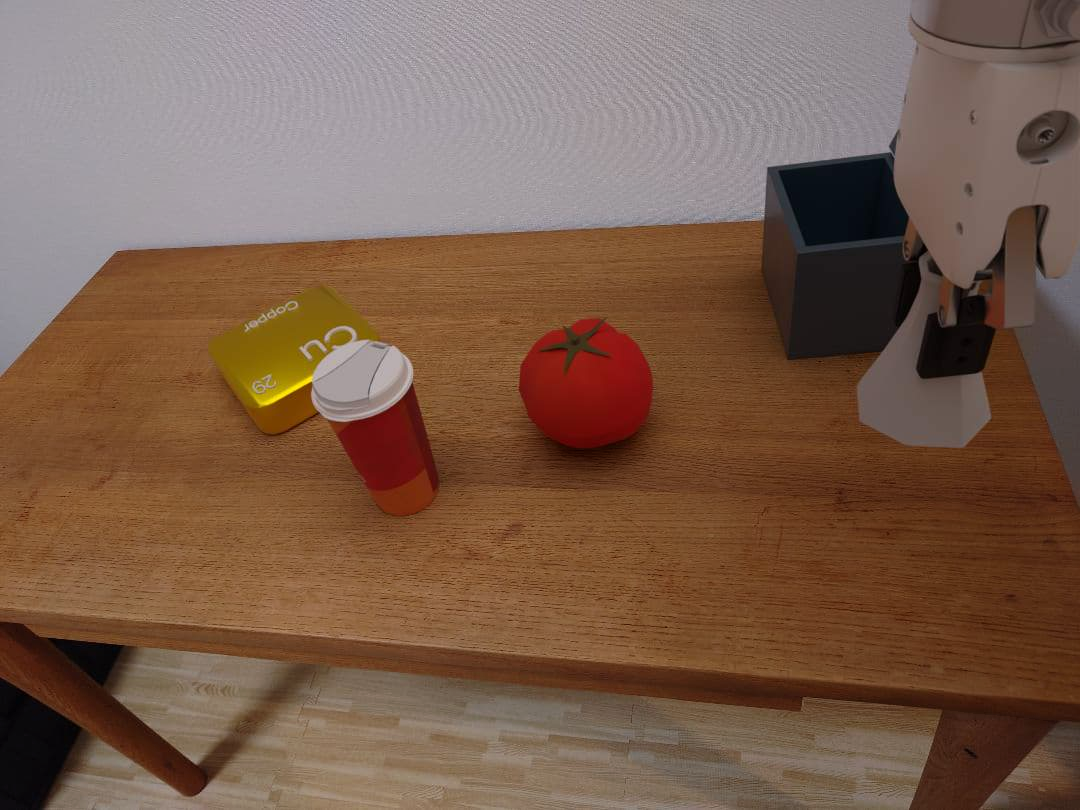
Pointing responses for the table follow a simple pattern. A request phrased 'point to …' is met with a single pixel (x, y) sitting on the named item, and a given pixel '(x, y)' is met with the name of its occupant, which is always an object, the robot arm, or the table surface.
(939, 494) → the table surface
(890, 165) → the cool box
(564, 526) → the table surface
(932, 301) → the flask
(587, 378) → the tomato
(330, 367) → the coffee cup
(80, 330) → the table surface
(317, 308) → the element tile
